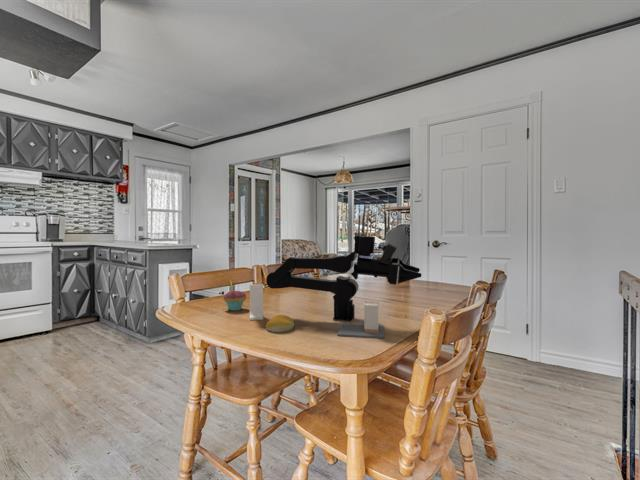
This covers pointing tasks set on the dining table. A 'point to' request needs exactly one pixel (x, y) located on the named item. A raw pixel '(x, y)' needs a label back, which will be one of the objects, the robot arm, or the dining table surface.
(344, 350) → the dining table surface
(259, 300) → the light gray rectangular block
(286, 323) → the bread roll
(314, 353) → the dining table surface
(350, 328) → the rubber mat
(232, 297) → the cupcake
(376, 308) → the tall block
